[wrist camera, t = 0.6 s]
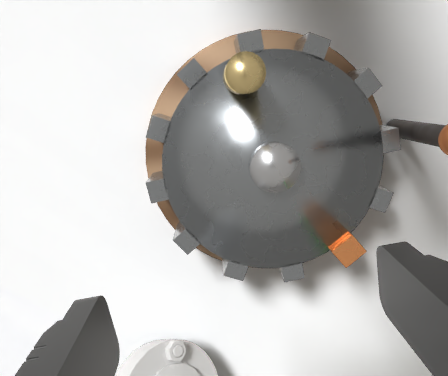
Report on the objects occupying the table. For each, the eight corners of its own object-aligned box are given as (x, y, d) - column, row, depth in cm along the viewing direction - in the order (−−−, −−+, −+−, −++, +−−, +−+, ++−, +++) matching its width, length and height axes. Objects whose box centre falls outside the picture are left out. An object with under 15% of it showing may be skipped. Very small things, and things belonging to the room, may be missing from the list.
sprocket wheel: (142, 40, 32) (116, 19, 23) (386, 33, 32) (451, 9, 24) (160, 268, 37) (145, 322, 28) (372, 258, 37) (421, 307, 28)
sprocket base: (137, 35, 33) (102, 7, 22) (415, 26, 33) (511, -5, 23) (156, 268, 38) (136, 334, 27) (397, 256, 39) (468, 317, 28)
